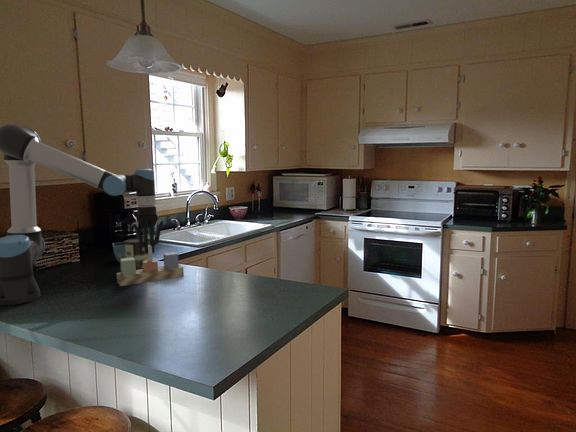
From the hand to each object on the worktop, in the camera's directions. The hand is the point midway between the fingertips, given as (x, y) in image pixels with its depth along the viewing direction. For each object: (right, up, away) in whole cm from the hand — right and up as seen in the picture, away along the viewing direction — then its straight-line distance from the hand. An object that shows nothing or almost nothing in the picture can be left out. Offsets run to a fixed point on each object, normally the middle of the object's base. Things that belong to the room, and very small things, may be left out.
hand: (150, 260), depth 187 cm
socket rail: (0, -8, +1) cm, 8 cm away
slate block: (+8, -4, +5) cm, 10 cm away
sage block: (-8, -6, -4) cm, 10 cm away
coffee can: (-11, -6, +18) cm, 22 cm away
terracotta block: (0, -7, +1) cm, 7 cm away
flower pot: (-25, -4, +37) cm, 45 cm away
